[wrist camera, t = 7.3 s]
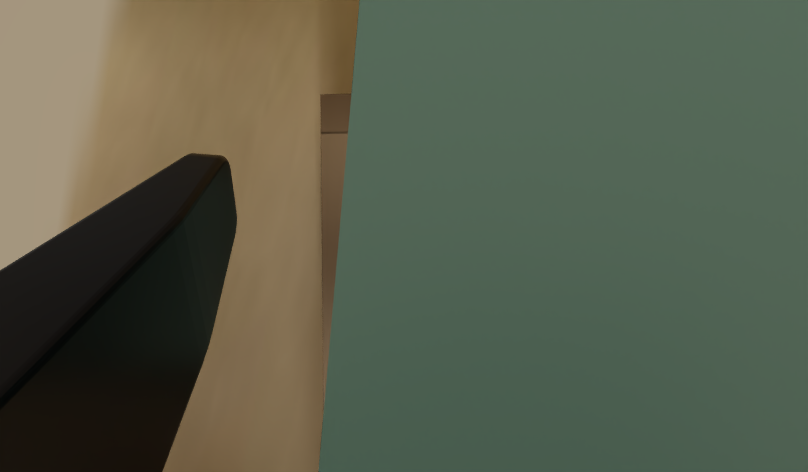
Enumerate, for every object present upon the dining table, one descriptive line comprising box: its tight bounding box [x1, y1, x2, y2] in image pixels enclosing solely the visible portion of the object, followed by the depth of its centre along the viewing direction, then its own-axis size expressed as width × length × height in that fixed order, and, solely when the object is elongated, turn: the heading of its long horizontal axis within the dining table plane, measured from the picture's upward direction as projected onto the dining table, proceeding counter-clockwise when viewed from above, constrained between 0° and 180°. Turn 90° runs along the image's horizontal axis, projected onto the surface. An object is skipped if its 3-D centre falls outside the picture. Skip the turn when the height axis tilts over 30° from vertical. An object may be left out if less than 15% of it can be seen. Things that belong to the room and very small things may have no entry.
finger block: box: [319, 0, 808, 472], centre depth 10 cm, size 4×4×12 cm
